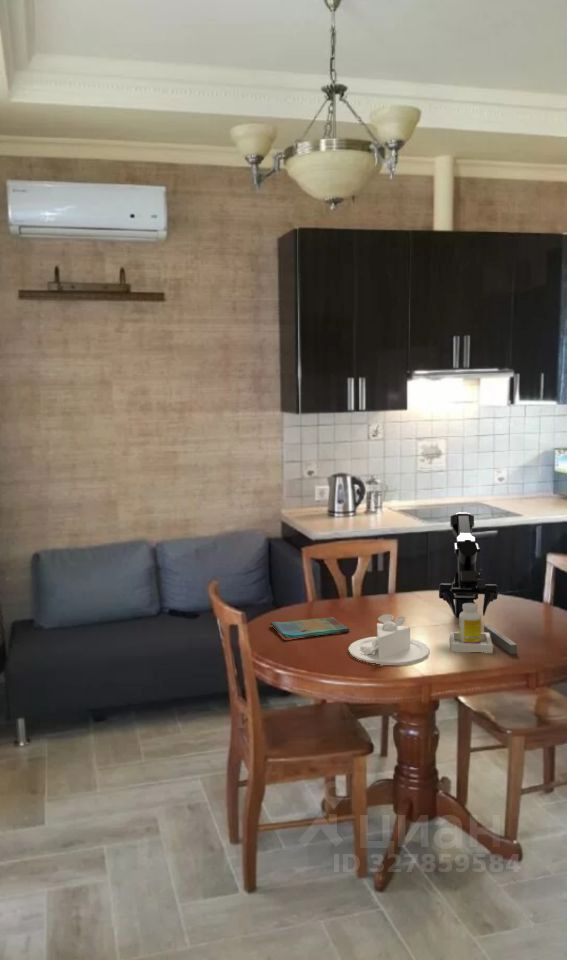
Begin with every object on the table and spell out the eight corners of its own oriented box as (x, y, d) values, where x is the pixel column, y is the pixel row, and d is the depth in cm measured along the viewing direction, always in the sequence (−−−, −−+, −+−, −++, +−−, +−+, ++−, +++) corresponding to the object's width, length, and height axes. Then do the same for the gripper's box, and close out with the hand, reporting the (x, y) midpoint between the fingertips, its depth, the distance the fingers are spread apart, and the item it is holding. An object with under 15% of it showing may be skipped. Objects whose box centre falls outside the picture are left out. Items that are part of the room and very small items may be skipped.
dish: (364, 636, 264) (364, 603, 262) (438, 645, 253) (438, 611, 251) (336, 660, 242) (335, 624, 240) (416, 671, 231) (416, 633, 229)
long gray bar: (516, 654, 242) (516, 644, 242) (510, 654, 242) (510, 645, 241) (489, 634, 262) (489, 625, 261) (483, 634, 261) (484, 625, 261)
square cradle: (451, 651, 245) (451, 644, 245) (449, 639, 258) (449, 631, 257) (492, 653, 243) (492, 645, 243) (489, 640, 256) (489, 632, 255)
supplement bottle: (485, 645, 249) (485, 605, 248) (468, 649, 246) (468, 608, 245) (471, 639, 255) (471, 600, 253) (454, 643, 252) (454, 603, 251)
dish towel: (269, 628, 276) (269, 620, 276) (332, 620, 283) (332, 613, 283) (284, 643, 260) (283, 635, 259) (350, 634, 267) (350, 627, 266)
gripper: (439, 559, 260) (440, 601, 251) (497, 560, 257) (501, 603, 248) (438, 577, 269) (439, 618, 259) (495, 577, 266) (498, 619, 256)
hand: (469, 614), depth 256 cm, fingers open, 9 cm apart
